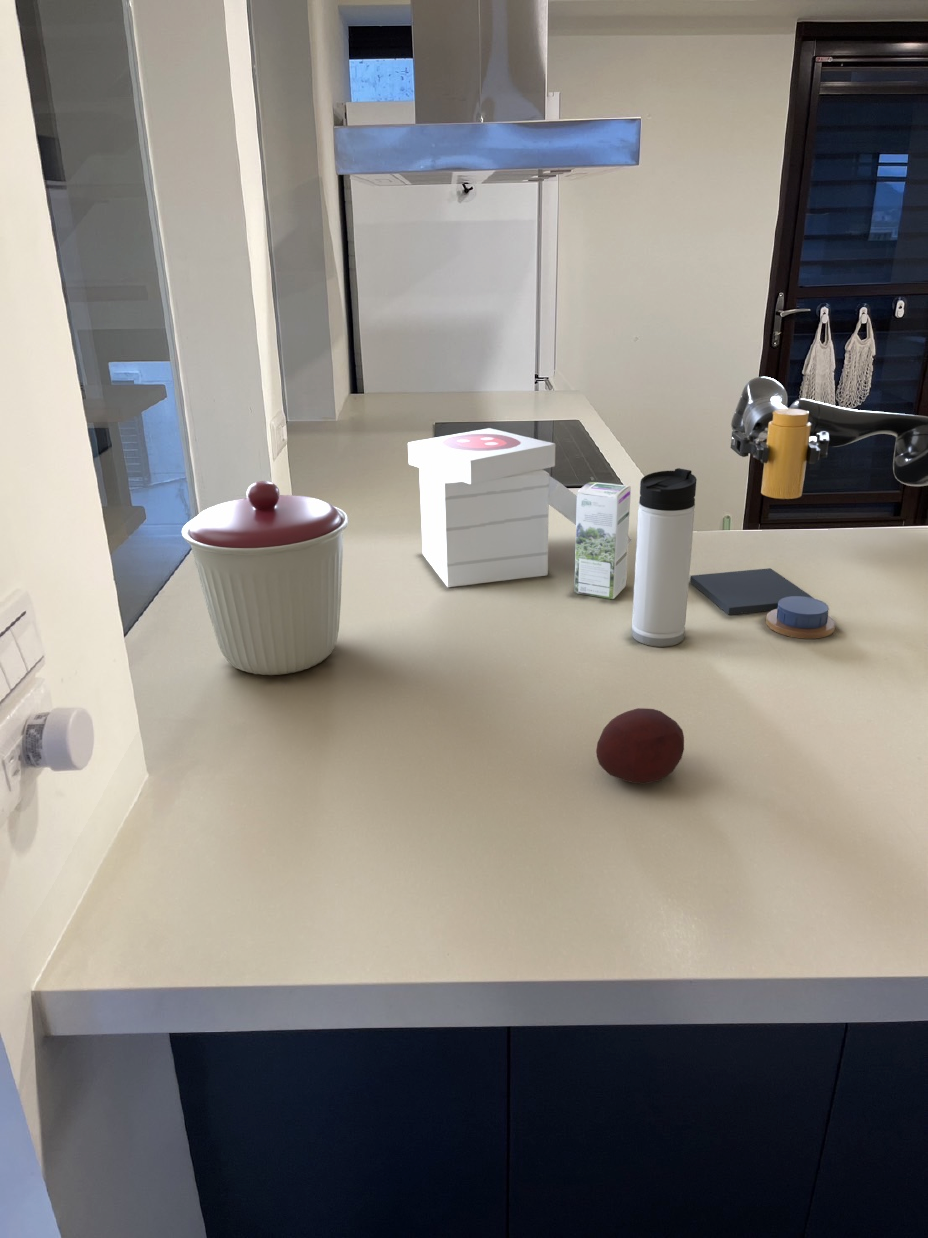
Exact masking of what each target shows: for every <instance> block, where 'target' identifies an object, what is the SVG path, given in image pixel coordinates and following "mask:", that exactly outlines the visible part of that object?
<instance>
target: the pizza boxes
mask: <svg viewBox="0 0 928 1238" xmlns="http://www.w3.org/2000/svg"><path fill="white" fill-rule="evenodd" d="M407 454H408V465H409V466H412V467H415V468H418V472H419V474H418V475H419V494H420V519H421V543H422V555H423V556H424V558H425V559H426V561H427V562H428V563H429V565H430V566H431V567H432V568H433V570H434V571H435V573H436V575H438V576H439V578H440V580H442V582H443V584H445V586H446V587H447V588H454V587H462V586H470V585H479V584H486V583H494V582H501V581H510V580H518V579H526V578H534V577H535V578H536V577H542V576H543V577H544V576H548V572H549V571H548V570H549V511H550V510H549V507H551V508H553V509H554V510H555V511H557V512H558V513H560V514H561V515H562V516H563V517H565V519H567V520H568V521H570V522H571V523H573V524H574V525H575V526H576V512H577V494H575V492H573V491H571V490H570V489H569V488H567V487H566V486H565V485H564V484H562V483H561V482H560V481H558V480H557V479H556V478H554V477H552V476H551V475H550V473H549V472H548V471H546V470H544V469H549V468H554V467H555V466H556V443H554V442H550V441H546V440H541V439H538V438H537V439H536V438H532V437H528V436H524V435H521V434H517V433H512V432H508V431H504V430H499V429H495V428H491V427H487V428H483V429H477V430H471V431H466V432H459V433H454V434H448V435H442V436H437V437H431V438H425V439H419V440H413V441H409V442H407ZM632 541H633V539H632V538H631V537H630V536H628V545H630V543H631V542H632Z"/></svg>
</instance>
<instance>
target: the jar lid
mask: <svg viewBox="0 0 928 1238" xmlns="http://www.w3.org/2000/svg"><path fill="white" fill-rule="evenodd" d="M814 598H815V597H813V598H810V597H803V596H791V597H786V598H783V599H781V600H779V602H778V609H777V619H778V620H779V621H780V622H781V623H783V624H785V625H788V626H791V627H795V628H803V629H814V628H820V627H822V626H824V625H826V624H827V619H828V615H829V610H830V608H829V607H830V606H829V605H828V604H827V603H826V602H824V601H822V600H821V599H818V598H815V599H814Z"/></svg>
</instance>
